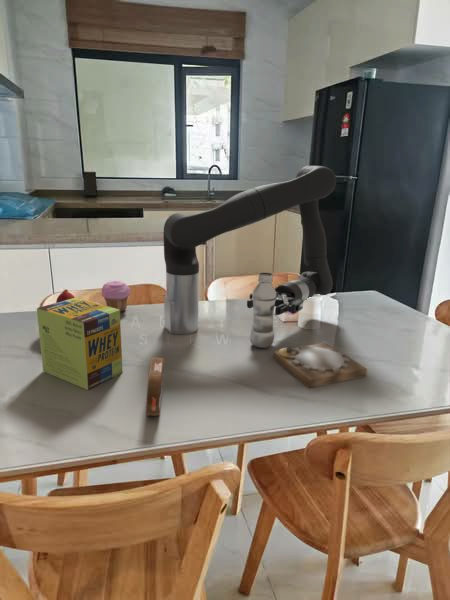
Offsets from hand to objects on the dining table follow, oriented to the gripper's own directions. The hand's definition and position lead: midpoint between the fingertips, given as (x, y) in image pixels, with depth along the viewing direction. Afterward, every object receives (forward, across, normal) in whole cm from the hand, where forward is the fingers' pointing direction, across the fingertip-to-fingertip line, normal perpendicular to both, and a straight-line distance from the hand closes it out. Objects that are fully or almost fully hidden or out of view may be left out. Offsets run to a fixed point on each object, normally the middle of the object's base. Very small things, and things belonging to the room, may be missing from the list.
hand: (262, 307), depth 113 cm
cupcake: (+6, -51, +11) cm, 53 cm away
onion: (+18, -60, +11) cm, 64 cm away
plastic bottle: (-1, 0, +11) cm, 11 cm away
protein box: (+38, -24, +11) cm, 47 cm away
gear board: (+1, +17, +11) cm, 21 cm away
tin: (+38, -2, +11) cm, 39 cm away
